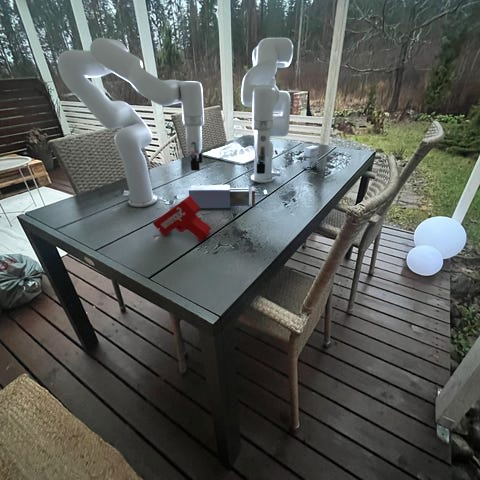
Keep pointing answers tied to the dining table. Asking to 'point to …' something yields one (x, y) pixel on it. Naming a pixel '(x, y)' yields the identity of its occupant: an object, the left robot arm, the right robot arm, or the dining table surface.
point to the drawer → (244, 196)
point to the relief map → (232, 153)
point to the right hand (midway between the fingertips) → (260, 172)
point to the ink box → (310, 156)
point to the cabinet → (211, 196)
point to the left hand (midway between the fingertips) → (197, 166)
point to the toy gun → (183, 220)
